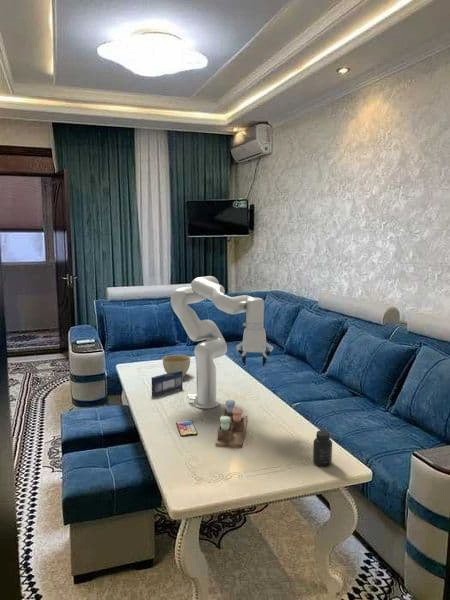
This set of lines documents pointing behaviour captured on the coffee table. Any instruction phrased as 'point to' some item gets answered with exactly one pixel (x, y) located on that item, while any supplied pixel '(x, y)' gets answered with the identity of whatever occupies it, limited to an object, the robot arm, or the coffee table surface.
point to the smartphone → (186, 428)
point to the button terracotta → (237, 414)
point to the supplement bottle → (322, 449)
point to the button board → (232, 432)
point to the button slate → (229, 406)
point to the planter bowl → (176, 363)
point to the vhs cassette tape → (167, 383)
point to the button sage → (225, 423)
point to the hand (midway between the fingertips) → (254, 364)
